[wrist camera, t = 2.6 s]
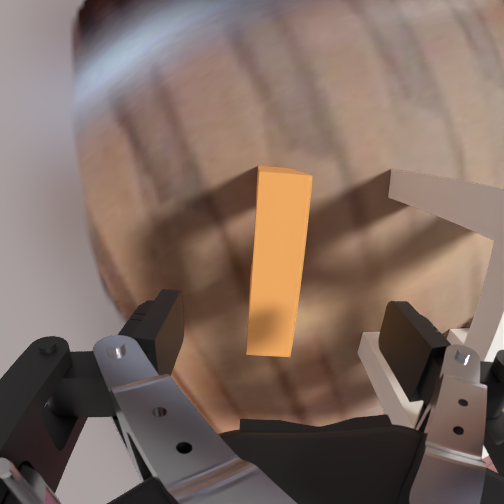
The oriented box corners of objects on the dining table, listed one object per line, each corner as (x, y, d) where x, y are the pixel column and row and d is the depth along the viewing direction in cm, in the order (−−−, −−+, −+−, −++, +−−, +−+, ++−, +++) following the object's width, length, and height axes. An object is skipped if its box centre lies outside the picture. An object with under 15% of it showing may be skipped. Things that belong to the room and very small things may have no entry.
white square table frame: (391, 168, 24) (546, 200, 8) (500, 192, 24) (627, 235, 8) (357, 352, 29) (416, 491, 13) (461, 346, 30) (539, 440, 13)
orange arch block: (257, 165, 24) (259, 171, 14) (289, 168, 24) (312, 175, 14) (250, 283, 27) (246, 354, 17) (278, 285, 27) (290, 356, 17)
